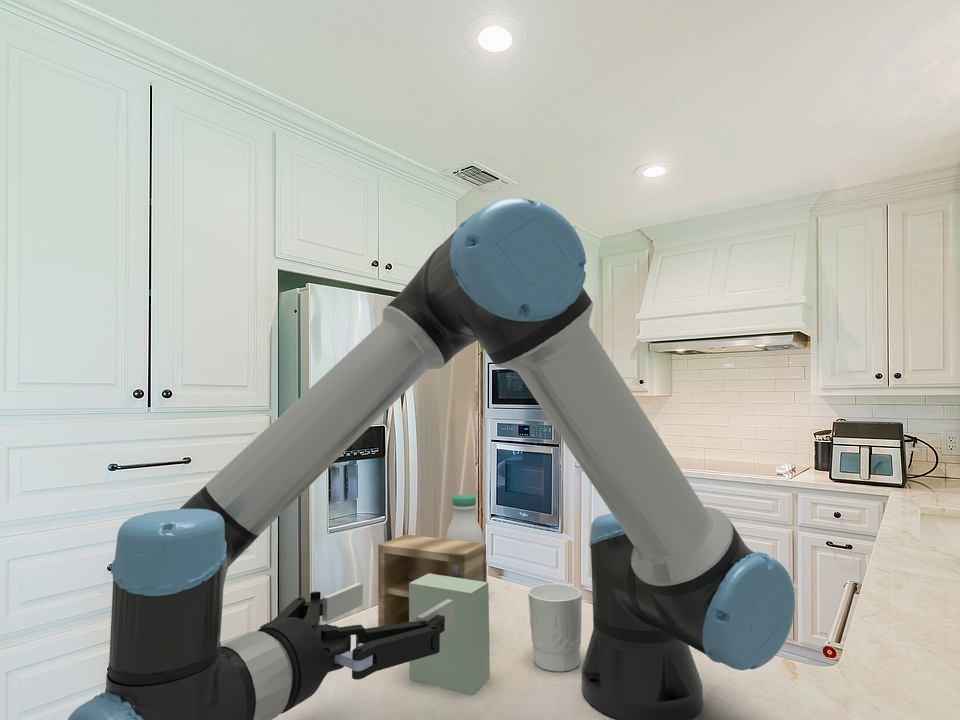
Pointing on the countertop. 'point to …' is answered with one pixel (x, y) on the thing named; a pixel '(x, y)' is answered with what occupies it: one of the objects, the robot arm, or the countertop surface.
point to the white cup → (555, 626)
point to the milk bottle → (464, 520)
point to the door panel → (454, 633)
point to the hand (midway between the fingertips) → (403, 602)
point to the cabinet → (421, 569)
